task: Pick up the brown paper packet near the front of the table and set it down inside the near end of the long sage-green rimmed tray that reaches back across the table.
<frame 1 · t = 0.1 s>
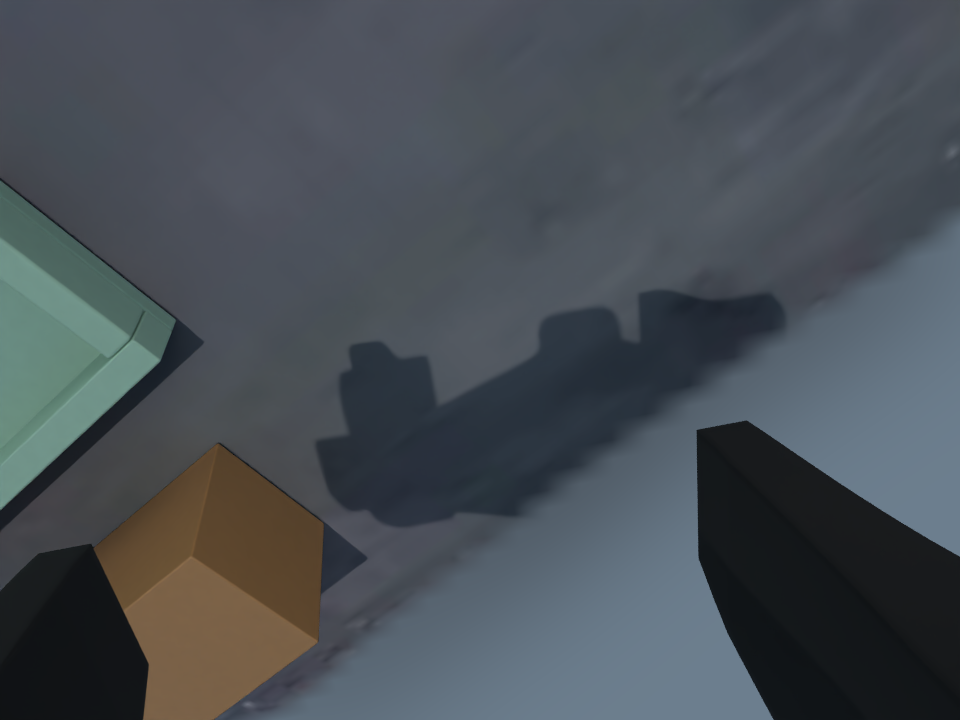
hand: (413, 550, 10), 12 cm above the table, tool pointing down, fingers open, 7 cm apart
packet: (175, 563, 25), on the table
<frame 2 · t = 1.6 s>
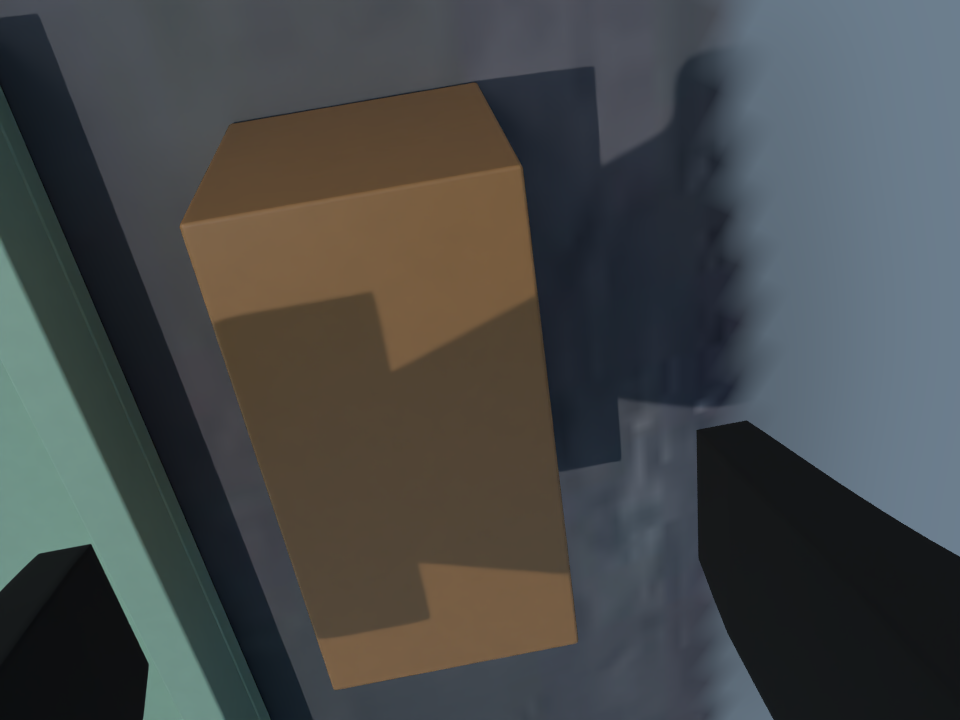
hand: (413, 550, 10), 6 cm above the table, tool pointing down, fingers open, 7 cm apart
packet: (399, 322, 16), on the table
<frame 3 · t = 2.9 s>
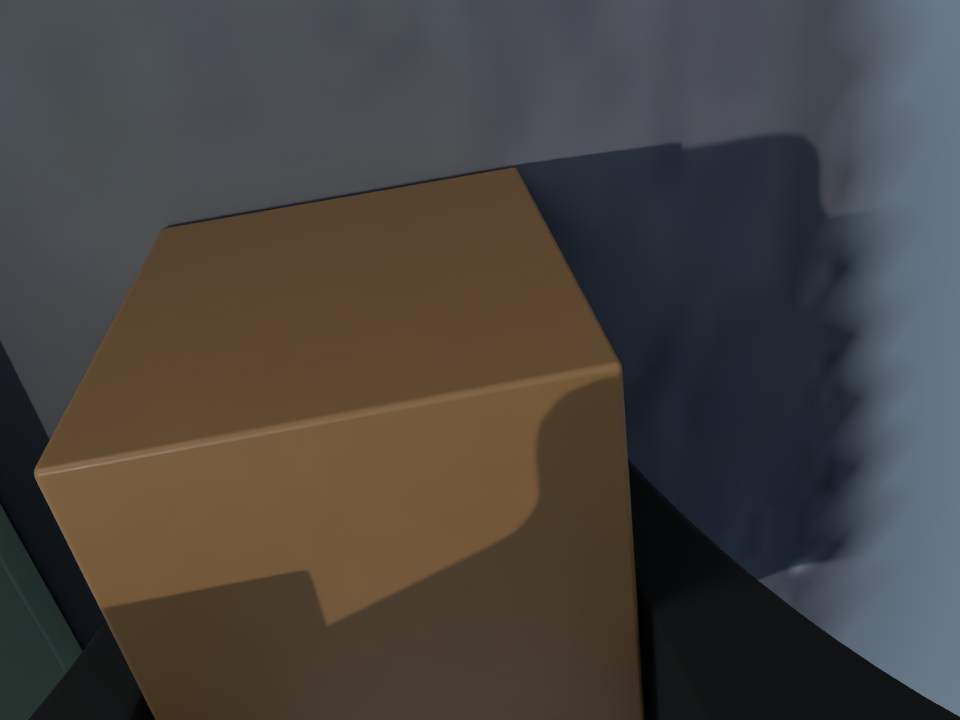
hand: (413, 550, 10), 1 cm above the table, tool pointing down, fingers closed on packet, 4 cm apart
packet: (404, 479, 12), on the table, touching gripper
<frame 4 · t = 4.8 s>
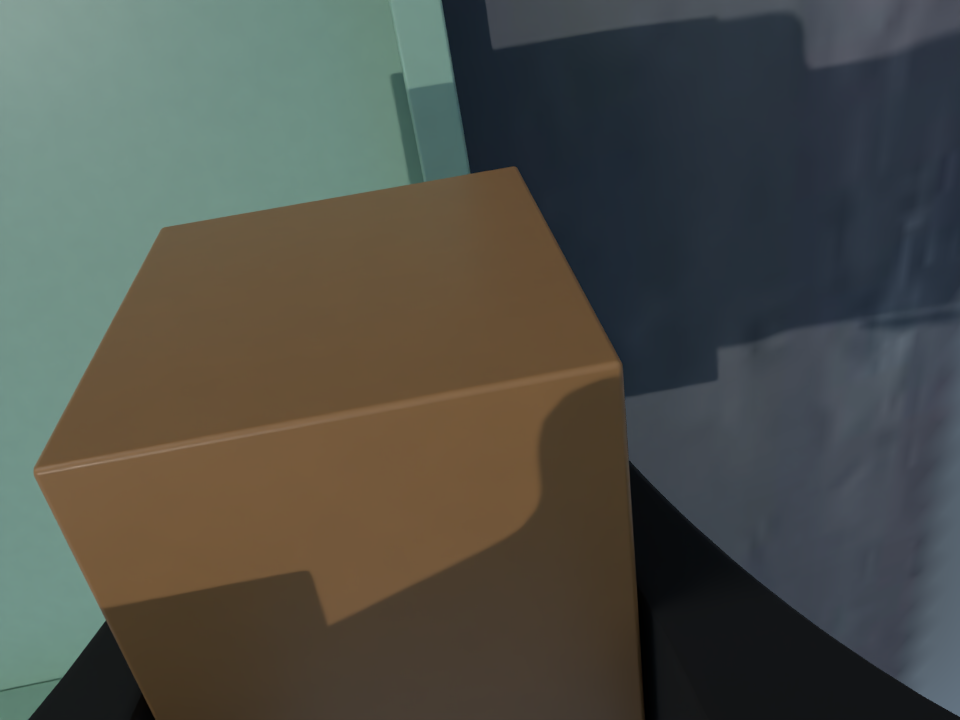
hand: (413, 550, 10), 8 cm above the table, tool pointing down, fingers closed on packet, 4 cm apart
packet: (404, 478, 12), point 7 cm above the table, touching gripper
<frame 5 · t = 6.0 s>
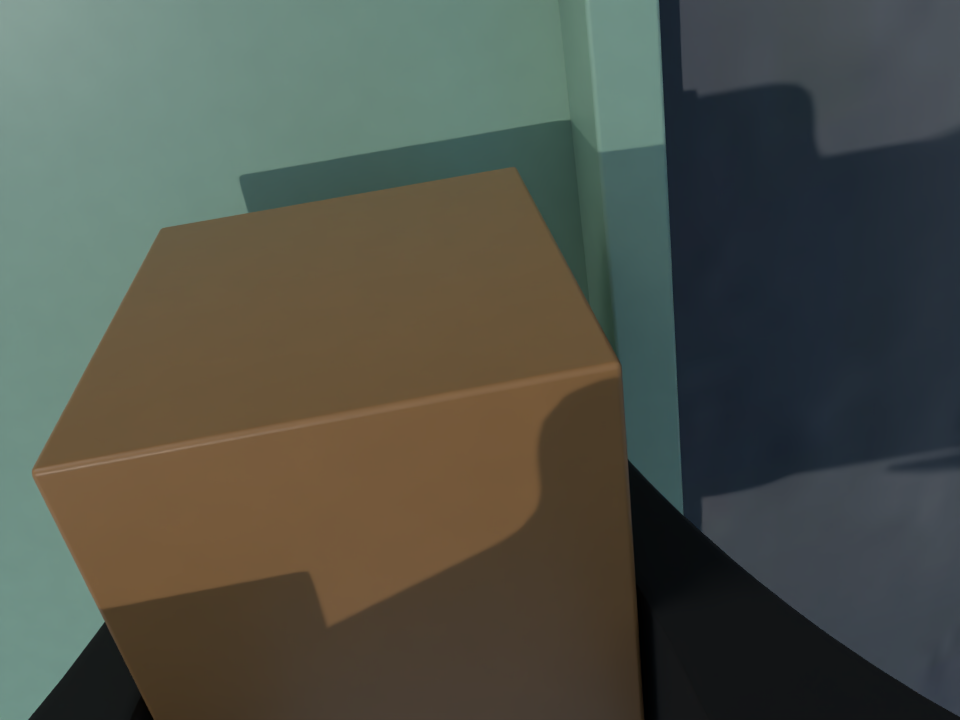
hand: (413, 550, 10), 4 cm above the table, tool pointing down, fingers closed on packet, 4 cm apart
packet: (404, 479, 12), point 2 cm above the table, touching gripper
when the fingers open (2 cm above the table, at t = 6.9 s): packet stays where it is, resting on tray.
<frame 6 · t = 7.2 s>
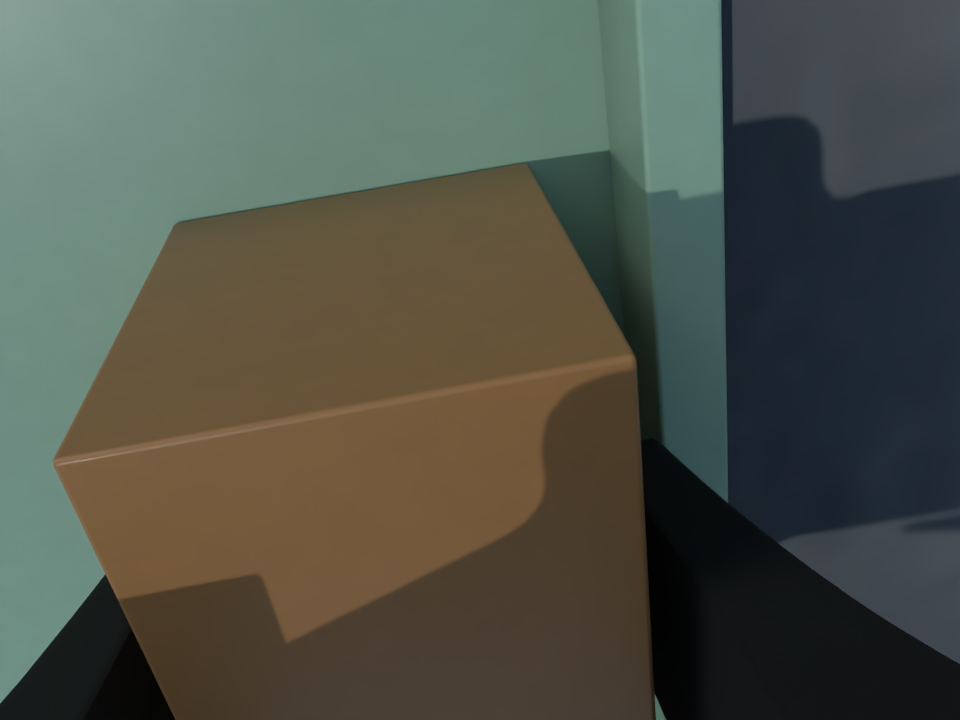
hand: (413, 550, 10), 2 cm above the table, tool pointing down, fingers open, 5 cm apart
packet: (414, 474, 12), point 1 cm above the table, touching tray
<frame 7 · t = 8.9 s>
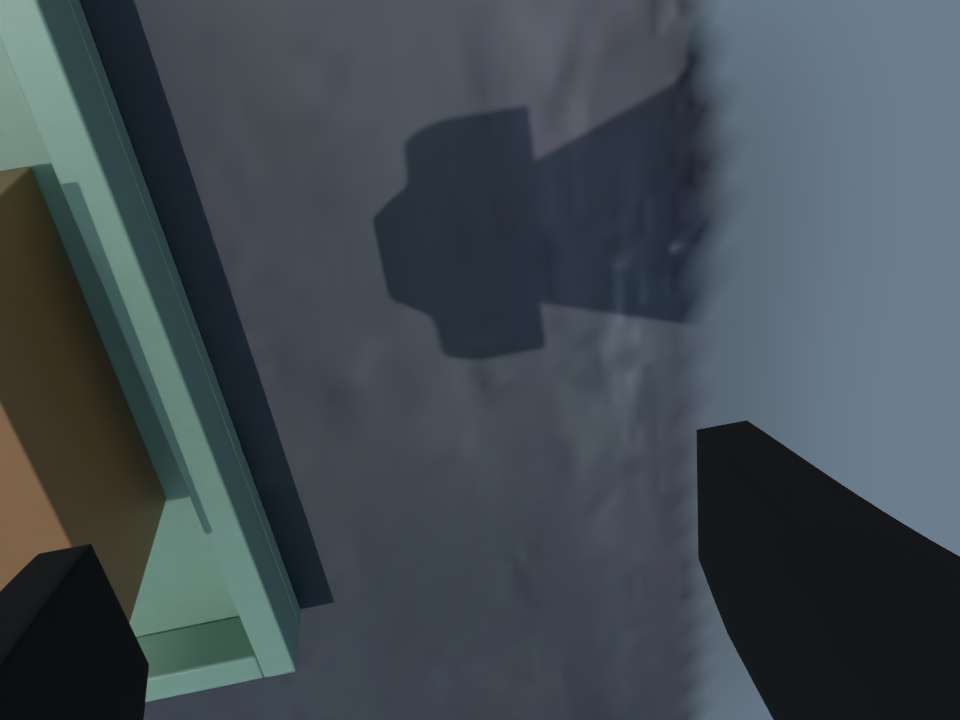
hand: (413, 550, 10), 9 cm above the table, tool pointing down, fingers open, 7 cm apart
packet: (11, 367, 18), point 1 cm above the table, touching tray
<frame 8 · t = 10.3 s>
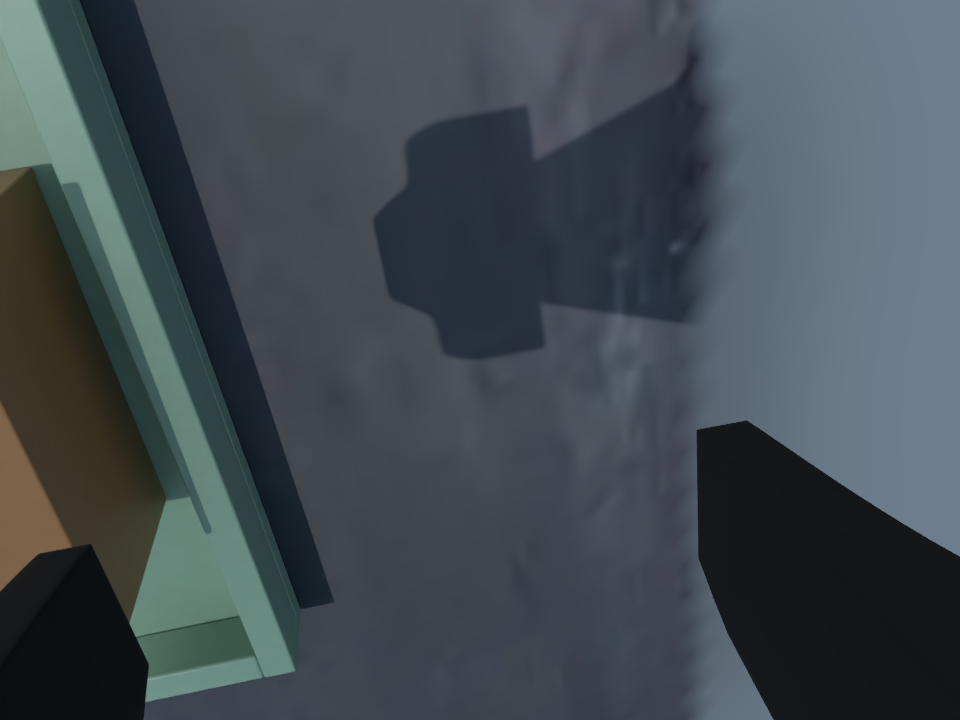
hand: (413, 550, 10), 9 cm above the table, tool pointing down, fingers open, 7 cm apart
packet: (11, 367, 18), point 1 cm above the table, touching tray
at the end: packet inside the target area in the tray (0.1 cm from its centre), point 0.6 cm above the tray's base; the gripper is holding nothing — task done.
